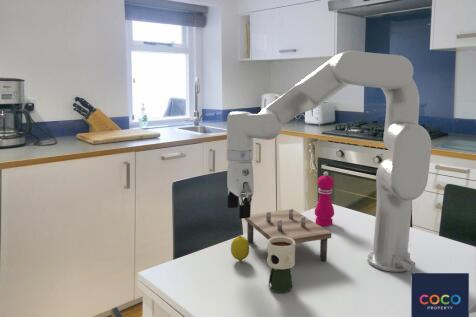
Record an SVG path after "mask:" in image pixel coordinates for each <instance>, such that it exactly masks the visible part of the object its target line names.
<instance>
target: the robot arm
mask: <svg viewBox="0 0 476 317" xmlns="http://www.w3.org/2000/svg"><path fill="white" fill-rule="evenodd" d="M413 76H414V66H413V64H412V62H411V60H409V59H408V58H407V57H405V56H403V55H400V54H389V53H388V54H387V53H379V52H376V53H374V52H370V51H369V52H366V51H359V50H345V51H342V52H339V53H337V54H336V55H334V56H332V57H331V58H330V59H329V60H327V61H326V62H325V63H323V64H322V65H321V66H319V67H318V68H317V69H315V70H314V71H312V72H311V73H310V74H308V75H307V76H306V77H304V78H303V79H301V81H299V82H298V83H296V84H295V85H294V86H292V87H291V88H290V89H289V90H287V91H286V92H284V93H283V94H282V95H281V96H279V97H277V99H275V100H274V101H272V102H271V103H270V104H268V105H267V106H266V107H264V108H263V109H262V110H260V112H258V113H252V112H249V111H241V110H240V111H231V112H229V113H228V115H227V118H226V161H227V162H228V163H227V174H226V175H227V178H226V183H227V184H226V187H227V209H235V208H238V210H239V212H238V218H239V219H242V220H243V219H245V218H250V215H251V206H252V200H253V199H252V197H253V195H254V192H255V191H254V189H255V188H254V184H255V183H254V166H253V161H254V139H256V140H257V139H258V140H263V141H264V140H265V141H271V140H275V139H277V137H278V136H280V134H281V132H282V127H284V126H285V125H286V124H287V123H288V122H290V121H291V120H293V119H294V118H296V117H298V116H299V115H301V114H303V113H306V112H310V111H312V110H314V109H316V108H318V107H321V105H322V104H324V103H326V102H327V101H328V100H329V99H331V97H333V96H334V95H336V94H337V93H338V92H340V91H342V90H343V89H345V88H346V87H347V86H348V85H352V86H358V87H366V88H367V87H368V88H376V89H377V88H378V89H379V88H380V89H381V90H382V92H383V94H384V97H385V104H386V105H385V106H386V108H385V121H384V129H383V130H384V131H383V144H384V147H385V148H386V149H387V150H388V151H389V152H391V153H392V157H388V158H386V159H384V160H383V161H381V162H380V164H379V165H378V167H377V171H376V176H375V177H376V178H375V180H376V181H375V182H376V208H375V210H376V211H375V223H374V238H373V239H374V240H373V251H372V252H370V253H368V255H367V263H369V265H371V266H372V267H374V268H376V269H378V270H381V271H386V272H393V273H399V272H400V273H402V272H407V271H408V272H410V271H411V270H412V269H413V267H415V266H416V262H415V261H414V260H412V259H411V253H410V252H409V242H410V241H409V240H410V227H411V219H412V218H411V217H412V211H413V210H412V208H413V207H412V206H413V205H412V204H413V201H414V200H416V199H418V198H419V197H421V196H422V195H423V194H424V191H425V190H426V187H427V185H428V181H429V172H430V164H431V163H430V162H431V156H432V138H431V136H430V133H429V132H428V131H427V129H426V128H425V127H423V126H422V125H420V124H419V119H420V118H419V117H420V93H419V90H418V89H419V88H418V87H417V84H416V82H415V80H414V79H413ZM239 202H240V204H239Z"/></svg>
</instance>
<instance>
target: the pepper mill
mask: <svg viewBox="0 0 476 317" xmlns="http://www.w3.org/2000/svg"><path fill="white" fill-rule="evenodd" d="M316 184H317V186H318V194H319V198H318V202H317V203H316V205H315V208H314V215H315V222H314V223H316V224H317V225H319V226H321V227H330V226H332V225H333V222H334V220H333V217H334V216H335V208H334V206H333V204H332V198H331V196H332V193H333V187H334V186H335V180H334V178H333V177H332V176H330V175H329V172H328V171H324V172H323V175H321V176H319V177H318V178H317V182H316Z"/></svg>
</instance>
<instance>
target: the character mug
mask: <svg viewBox="0 0 476 317" xmlns="http://www.w3.org/2000/svg"><path fill="white" fill-rule="evenodd" d="M266 247H267V259H266V262H267V265H268V267H270V272H269V277H268V288H270V290H271V291H274V292H278V293H283V292H287V291H289V290H291V289H292V288H293V277H292V276H293V275H292V268H293V267H294V266H295V262H296V259H295V258H296V244H295V241H294V240H293V239H291V238H288V237H273V238H270V239H269V240H268V239H267V246H266Z"/></svg>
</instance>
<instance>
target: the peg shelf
mask: <svg viewBox="0 0 476 317" xmlns="http://www.w3.org/2000/svg"><path fill="white" fill-rule="evenodd" d="M244 221H245V222H246V223H247V225H246V226H247V236H246V237H247V238H246V239H247V241H248V243H249V244H253V243H254V229H255V230H256V231H257V232H259V233H260V234H261V235H262V236H263V237H264V238H265V239H266V240H267V241H268V240H269V239H270V238H273V237H288V238H291V239H293V240H294V241H295V245H296V244H303V243H308V242H309V243H310V242H315V241H320V243H319V244H320V249H319V261H320V262H323V263H325V262H327V257H328V254H327V253H328V239H332V232H331V231H328V230H327V229H325V228H324V227H323V226H320V225H317V224H316V223H315V222H314V221H313V220H311V219H310V218H308V217H306V216H304V214H302V213H300V212H298V211H296V210H294V209H293V208H289V209H285V210H284V209H283V210H276V211H266V212H261V213H259V212H258V213H252V214H251V213H250V218H244Z"/></svg>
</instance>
